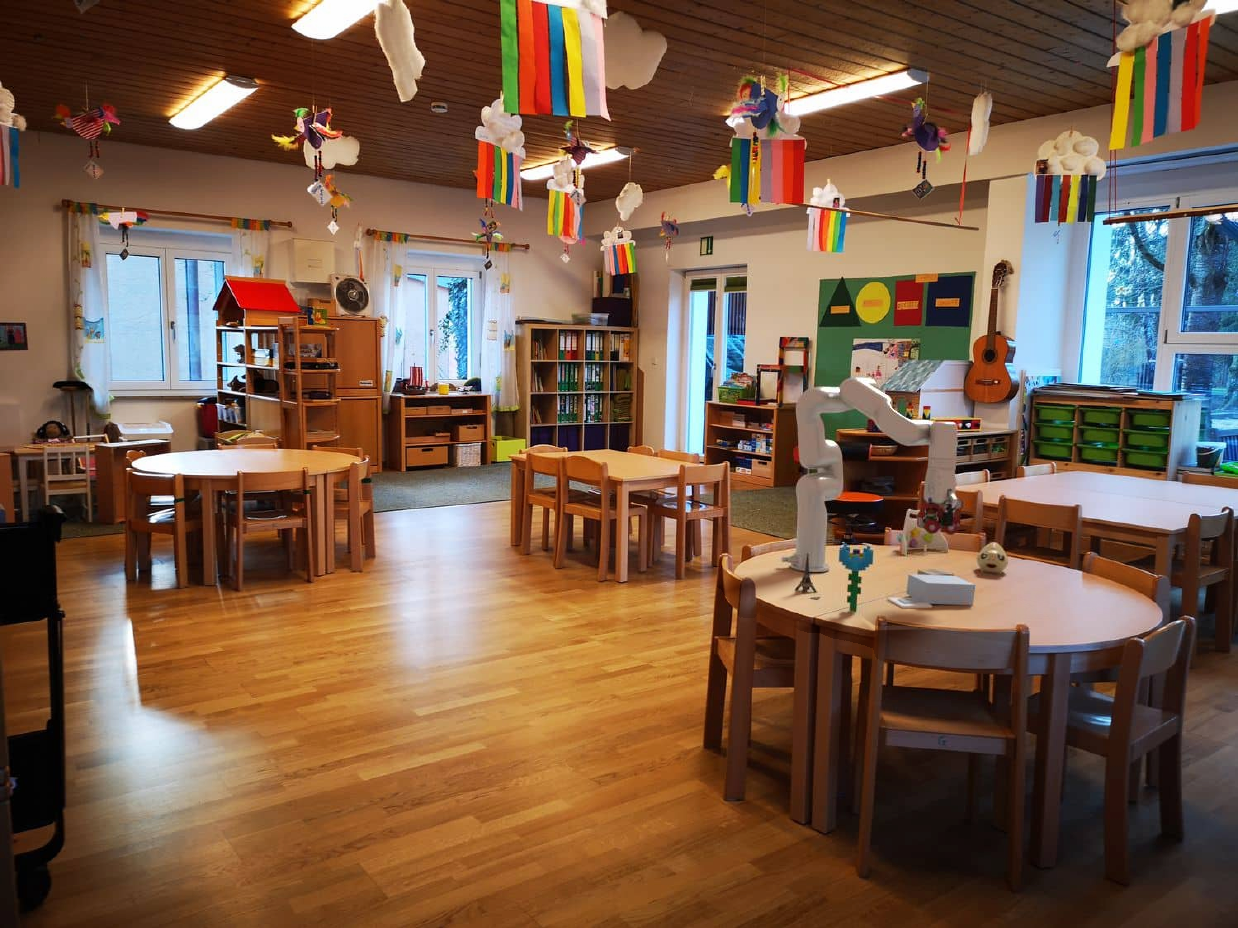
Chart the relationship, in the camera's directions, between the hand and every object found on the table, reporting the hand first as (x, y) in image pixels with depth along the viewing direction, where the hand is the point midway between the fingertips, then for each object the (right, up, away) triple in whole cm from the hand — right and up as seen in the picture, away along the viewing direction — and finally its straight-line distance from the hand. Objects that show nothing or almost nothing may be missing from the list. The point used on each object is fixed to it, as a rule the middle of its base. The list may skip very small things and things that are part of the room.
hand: (938, 523), depth 257 cm
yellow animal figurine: (+32, -20, +39) cm, 54 cm away
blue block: (+1, -23, +1) cm, 23 cm away
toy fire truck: (0, -3, 0) cm, 3 cm away
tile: (-10, -23, -3) cm, 25 cm away
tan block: (+4, -22, +14) cm, 26 cm away
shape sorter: (+16, -17, +66) cm, 70 cm away
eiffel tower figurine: (-37, -22, +7) cm, 44 cm away
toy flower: (-28, -24, -12) cm, 39 cm away
